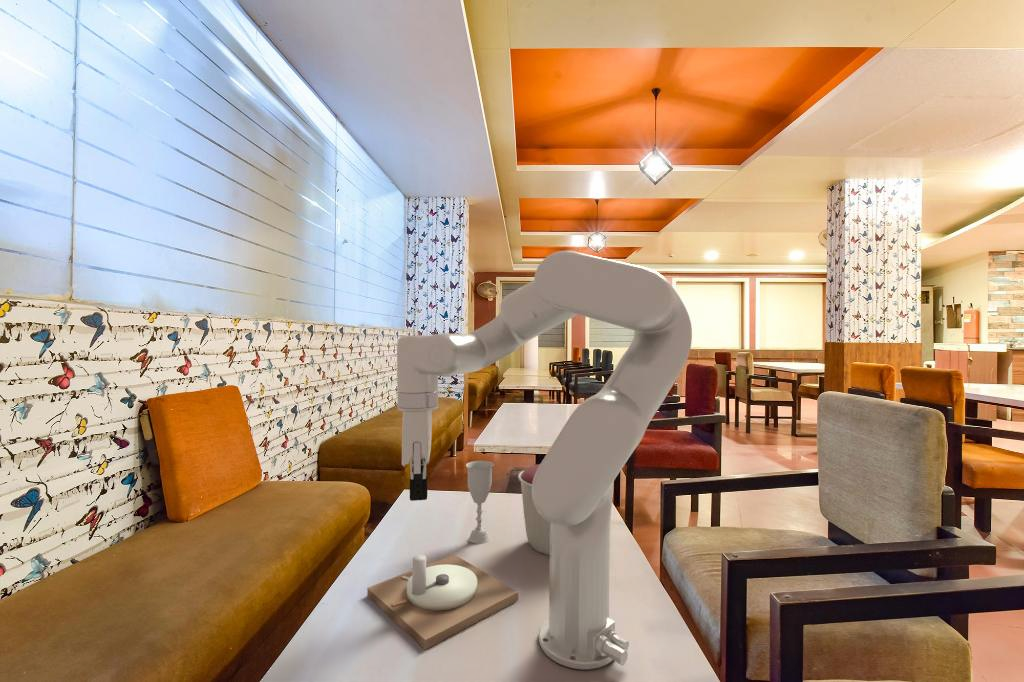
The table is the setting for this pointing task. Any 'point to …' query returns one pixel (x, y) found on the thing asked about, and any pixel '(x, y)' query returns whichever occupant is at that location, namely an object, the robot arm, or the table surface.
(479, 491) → the chalice
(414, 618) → the dial base
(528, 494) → the canister
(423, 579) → the dial
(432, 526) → the table surface
